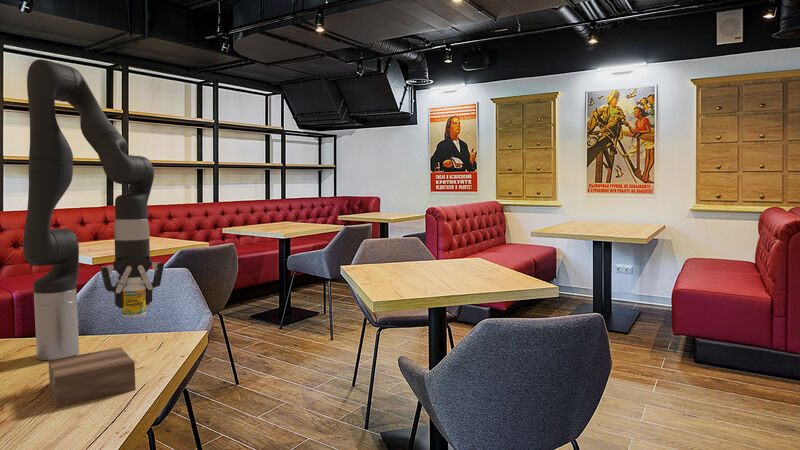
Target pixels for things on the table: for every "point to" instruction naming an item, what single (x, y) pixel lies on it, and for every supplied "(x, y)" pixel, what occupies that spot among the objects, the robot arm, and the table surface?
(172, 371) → the table surface
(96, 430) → the table surface
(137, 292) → the supplement bottle
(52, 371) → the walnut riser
